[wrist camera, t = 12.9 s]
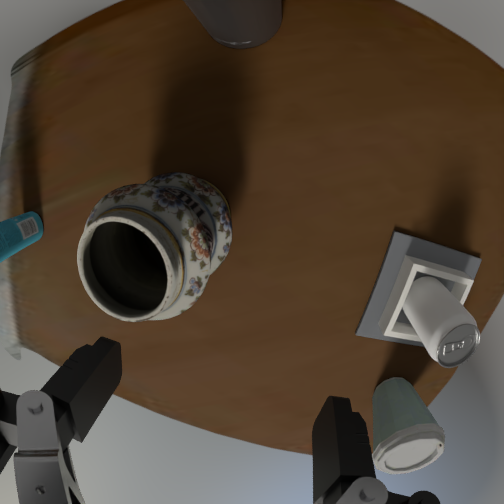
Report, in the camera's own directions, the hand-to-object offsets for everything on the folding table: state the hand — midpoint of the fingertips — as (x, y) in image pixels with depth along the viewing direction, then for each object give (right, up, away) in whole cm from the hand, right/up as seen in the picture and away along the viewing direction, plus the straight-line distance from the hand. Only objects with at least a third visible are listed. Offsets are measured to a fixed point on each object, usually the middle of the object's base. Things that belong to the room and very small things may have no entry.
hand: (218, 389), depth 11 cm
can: (+24, -1, +27) cm, 36 cm away
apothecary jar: (-6, +9, +28) cm, 30 cm away
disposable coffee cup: (+24, -17, +33) cm, 44 cm away
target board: (+24, -1, +27) cm, 37 cm away
